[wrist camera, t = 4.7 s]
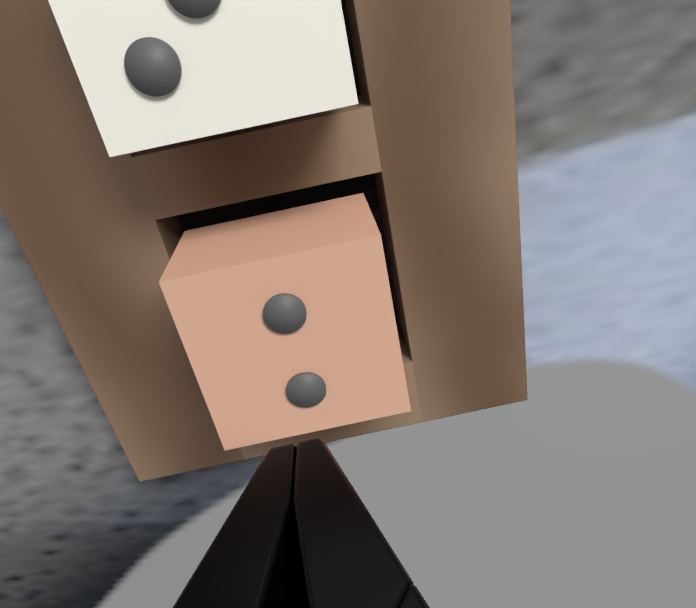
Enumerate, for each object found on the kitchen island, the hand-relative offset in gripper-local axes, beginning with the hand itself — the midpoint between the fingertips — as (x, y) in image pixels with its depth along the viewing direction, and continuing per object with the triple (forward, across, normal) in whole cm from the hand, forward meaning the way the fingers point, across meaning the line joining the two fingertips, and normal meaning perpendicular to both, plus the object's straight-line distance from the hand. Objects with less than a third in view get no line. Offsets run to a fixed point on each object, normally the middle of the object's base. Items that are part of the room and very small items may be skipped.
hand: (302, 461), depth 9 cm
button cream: (+6, 0, -7) cm, 9 cm away
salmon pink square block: (+6, 0, 0) cm, 6 cm away
